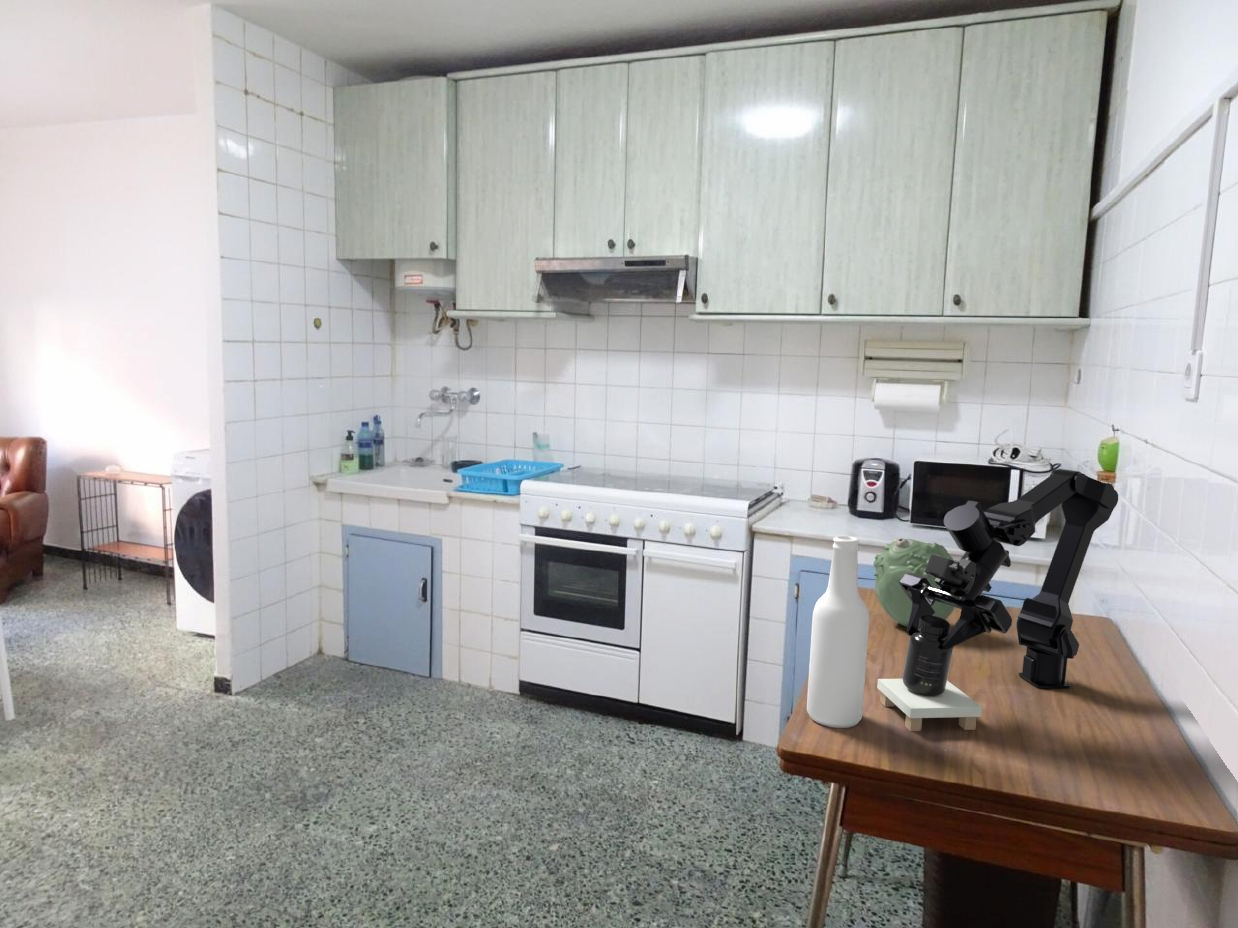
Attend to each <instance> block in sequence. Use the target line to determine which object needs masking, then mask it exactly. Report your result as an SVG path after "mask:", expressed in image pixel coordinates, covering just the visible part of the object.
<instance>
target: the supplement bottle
mask: <svg viewBox="0 0 1238 928" xmlns="http://www.w3.org/2000/svg"><path fill="white" fill-rule="evenodd" d="M950 631H951V622H949V621H948V620H947V619H946V620H945V619H943V618H940V617H937V616H931V615H925V616H922V617H920V619H919V624H918V630H916V631H914V632H913V633H912V634H911V636H909V640H908V645H907V650H906V657H905V661H904V662H905V663H904V668H903V673H902V674H903V675H902V679H903V683H904V685H905V686H906V687H907V688H908V689H909V690H911V691H913V692H915V693H917V694H920V695H924V696H938V695H941V694H942V693H943V692H944V691H945V688H946V683H947V681H948V677H949V672H950V666H951V662H952V661H951V660H952V656H953V652H954V651H953V650H954V647H952V648H950V649H948V650H945V649H944V648H943V647H942V645H943V643H944V641H945V639H946V637H947V636H948V634H949V633H950Z"/></svg>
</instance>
